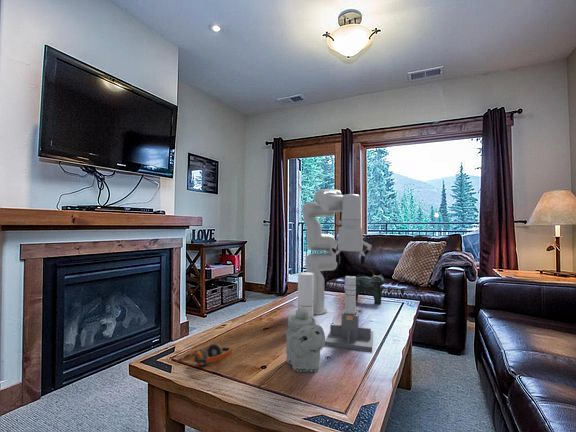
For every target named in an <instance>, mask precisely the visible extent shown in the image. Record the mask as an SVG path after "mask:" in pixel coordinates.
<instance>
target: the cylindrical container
mask: <svg viewBox="0 0 576 432" xmlns="http://www.w3.org/2000/svg"><path fill="white" fill-rule="evenodd" d="M313 286H314V274H313V273H309V272H307V271H305V272H303V271H302V272H298V273H297V308H298V307H301V309H302V308H303V309H306V310H307V311H308V314H309V315H308V316H311V317H313V318H314V314H313Z"/></svg>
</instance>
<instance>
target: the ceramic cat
mask: <svg viewBox="0 0 576 432" xmlns="http://www.w3.org/2000/svg"><path fill="white" fill-rule="evenodd" d="M369 271H371V272H372V276H367V275H364V274H363V276H360V274H357V275H355V276H354V277H356V302H357V301H358V300H359V299H358V298H359V294H360V293H362V292H366V293H369V294H371V295H372V298H373V301H374V305H382V296H383V295H382V287H383V285H384V284H385V278H384V276H383V274H382V273H380V274H379V275H375V274H374V272H373V270H372V269H368V270H367V272H369Z"/></svg>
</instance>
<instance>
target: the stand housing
mask: <svg viewBox="0 0 576 432" xmlns="http://www.w3.org/2000/svg"><path fill="white" fill-rule="evenodd" d="M359 316H360V312H359V311H356V315H346V314H345V309H344V310H342V314H341V324H331V323H330V324H329V325H330V326H329V328H330V330H329V332H328V334H327V336H326V337H325V344H324V346H327V347H333V348H341V349H342V348H344V349H350V350H351V349H352V350H360V351H366V352H373V346H374V345H373V344H374V343H373V342H374V331H372V328H370V327H363V326H362V327H360V326H359V324H360V323H359V321H360V320H359V319H360V317H359Z"/></svg>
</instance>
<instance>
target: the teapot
mask: <svg viewBox="0 0 576 432" xmlns="http://www.w3.org/2000/svg"><path fill="white" fill-rule="evenodd" d="M308 315H309V314H308V311H307V310H306V309H303V308H302V309H301V307H298V306H297V310H296V312H295V313H294V314H289V316H288V317H287V324H288V327H287V329H286V333H285V334H286V335H285V338H286V340H285V341H286V347H285V348H286V349H285V351H286V352H285V353H286V362H287V364H289V365H291V366H292V369H293V371H295V372H298V373H316V372H318V371H319V369H320V360H321V351H322V350H323V348H324V346H325V340H326V336H325V332H324V328H323V327H322V326H321V325H318V324H316V323H317V322H316V318H314V316H313V317H311V316H308Z"/></svg>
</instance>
